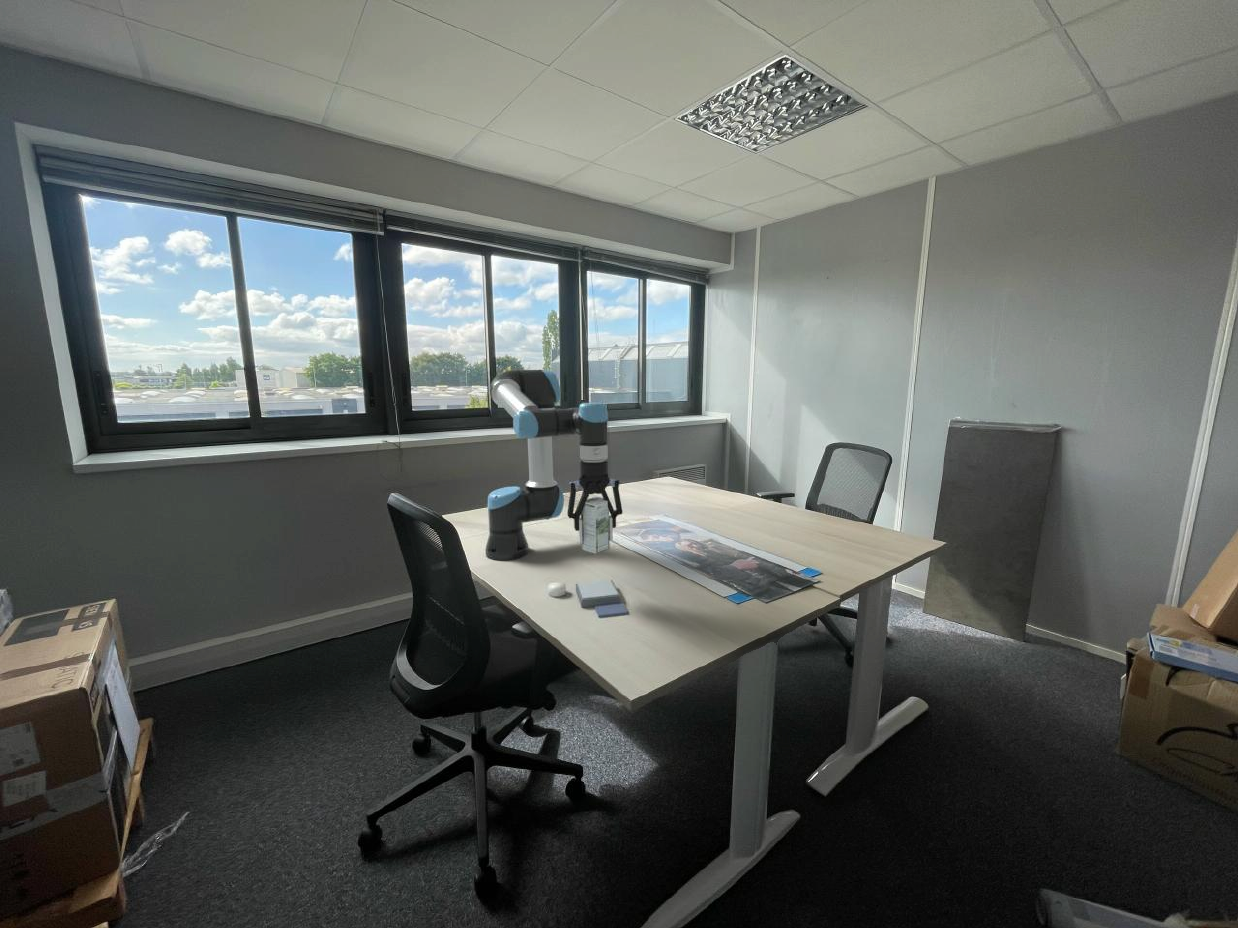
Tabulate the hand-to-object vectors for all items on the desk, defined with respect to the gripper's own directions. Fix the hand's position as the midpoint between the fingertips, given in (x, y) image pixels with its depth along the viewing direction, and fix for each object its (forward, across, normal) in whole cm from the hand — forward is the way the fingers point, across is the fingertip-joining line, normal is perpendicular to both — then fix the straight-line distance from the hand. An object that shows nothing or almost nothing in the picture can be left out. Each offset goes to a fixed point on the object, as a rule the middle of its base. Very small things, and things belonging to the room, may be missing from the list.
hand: (595, 539), depth 136 cm
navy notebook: (+18, +2, -9) cm, 20 cm away
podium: (+17, 0, 0) cm, 17 cm away
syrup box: (+3, 0, 0) cm, 3 cm away
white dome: (+17, -11, +5) cm, 21 cm away
